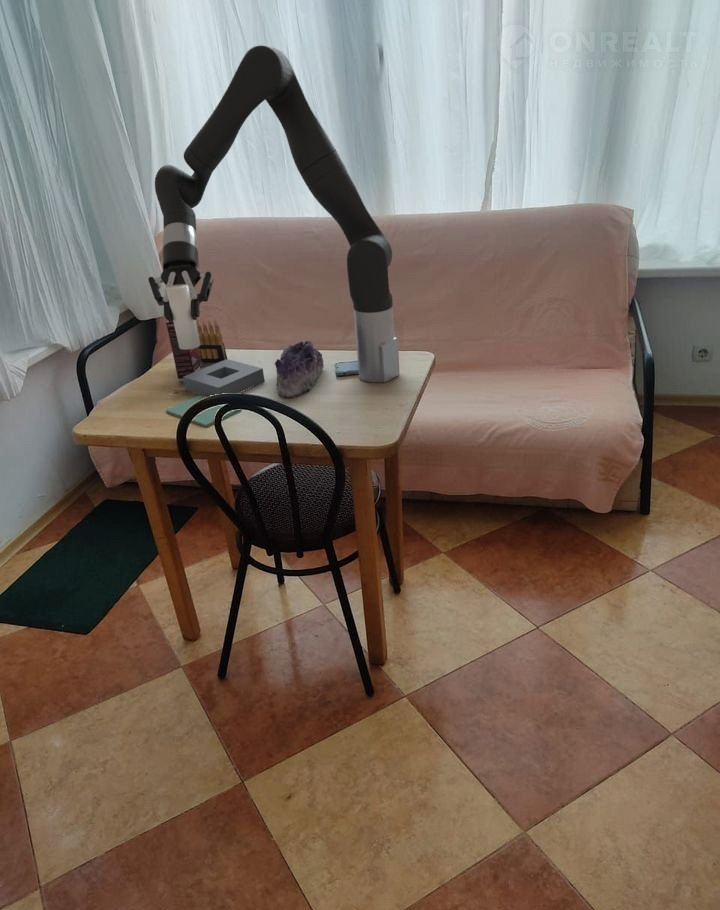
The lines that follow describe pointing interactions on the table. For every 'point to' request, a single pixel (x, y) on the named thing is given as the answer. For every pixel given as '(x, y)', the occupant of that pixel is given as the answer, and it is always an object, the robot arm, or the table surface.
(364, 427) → the table surface
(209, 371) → the grey square socket block
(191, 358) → the supplement box
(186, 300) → the plug
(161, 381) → the table surface
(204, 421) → the mat
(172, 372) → the table surface
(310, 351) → the geode
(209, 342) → the ammunition clip
